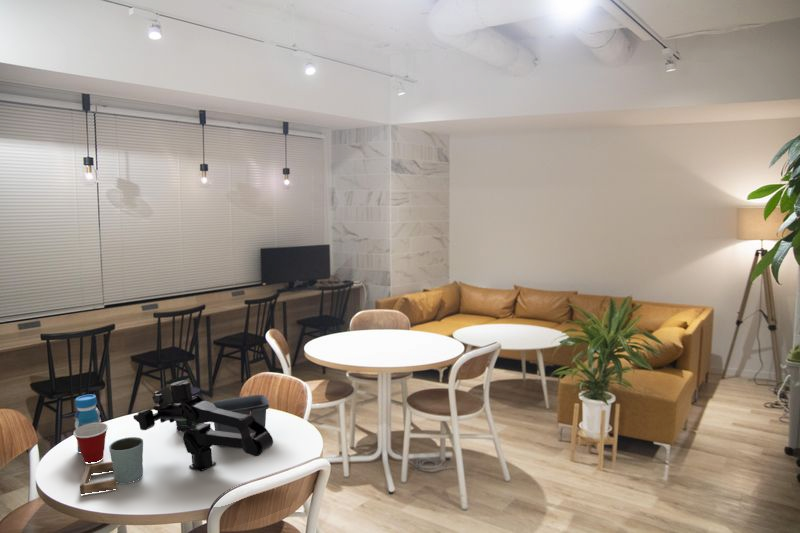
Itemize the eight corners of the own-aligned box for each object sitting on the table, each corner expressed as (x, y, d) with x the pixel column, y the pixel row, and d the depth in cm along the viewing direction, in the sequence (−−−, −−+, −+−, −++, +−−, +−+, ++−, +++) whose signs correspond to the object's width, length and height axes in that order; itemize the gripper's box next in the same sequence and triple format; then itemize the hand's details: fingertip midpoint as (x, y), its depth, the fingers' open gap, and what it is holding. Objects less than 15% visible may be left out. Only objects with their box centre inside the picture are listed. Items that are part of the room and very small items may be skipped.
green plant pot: (136, 468, 202) (133, 434, 201) (151, 476, 196) (148, 442, 194) (106, 479, 195) (103, 444, 193) (121, 489, 188) (118, 452, 187)
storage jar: (175, 425, 240) (172, 389, 238) (200, 420, 244) (198, 385, 242) (177, 433, 231) (174, 396, 229) (203, 429, 235) (201, 392, 233)
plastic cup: (72, 470, 202) (69, 436, 200) (80, 457, 212) (77, 424, 210) (107, 465, 205) (104, 432, 203) (113, 452, 215) (110, 420, 213)
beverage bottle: (90, 456, 212) (85, 402, 210) (71, 453, 215) (66, 400, 213) (108, 446, 220) (104, 394, 218) (90, 443, 223) (86, 392, 220)
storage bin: (264, 427, 235) (262, 392, 234) (275, 441, 222) (273, 404, 220) (208, 438, 225) (206, 402, 224) (217, 454, 212) (214, 415, 210)
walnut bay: (121, 469, 201) (120, 460, 201) (116, 490, 187) (115, 480, 187) (87, 475, 198) (86, 465, 197) (80, 496, 184) (79, 486, 183)
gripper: (192, 380, 212) (159, 382, 218) (153, 398, 195) (118, 399, 201) (198, 411, 213) (165, 411, 219) (159, 430, 196) (124, 430, 202)
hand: (144, 412), depth 210 cm, fingers open, 9 cm apart
